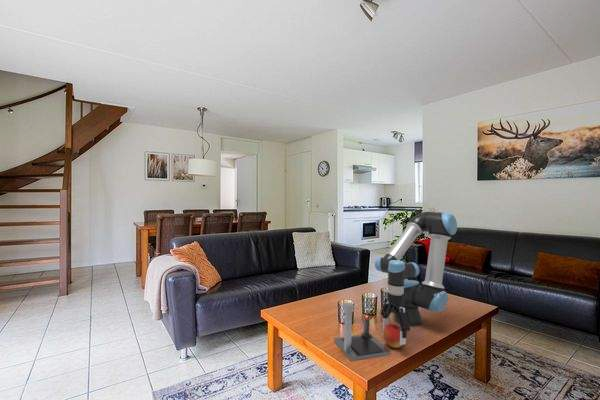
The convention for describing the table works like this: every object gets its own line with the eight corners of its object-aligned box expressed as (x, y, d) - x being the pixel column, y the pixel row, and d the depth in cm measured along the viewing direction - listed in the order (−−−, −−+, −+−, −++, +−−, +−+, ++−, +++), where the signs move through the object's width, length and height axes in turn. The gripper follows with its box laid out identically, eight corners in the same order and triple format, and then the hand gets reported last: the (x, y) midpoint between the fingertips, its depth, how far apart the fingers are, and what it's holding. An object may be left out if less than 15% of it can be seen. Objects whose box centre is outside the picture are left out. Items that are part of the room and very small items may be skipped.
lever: (368, 334, 150) (368, 313, 150) (371, 337, 147) (371, 315, 147) (361, 335, 149) (361, 314, 149) (364, 338, 146) (364, 316, 146)
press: (369, 336, 152) (371, 292, 152) (390, 354, 135) (392, 305, 135) (333, 341, 146) (334, 296, 146) (349, 361, 129) (351, 309, 128)
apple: (389, 352, 137) (390, 330, 137) (380, 342, 146) (380, 322, 146) (408, 350, 139) (409, 329, 138) (398, 340, 148) (398, 321, 148)
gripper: (374, 286, 153) (373, 327, 153) (405, 302, 129) (403, 351, 129) (387, 285, 155) (385, 325, 155) (419, 301, 131) (417, 349, 131)
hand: (393, 337), depth 142 cm, fingers open, 13 cm apart
